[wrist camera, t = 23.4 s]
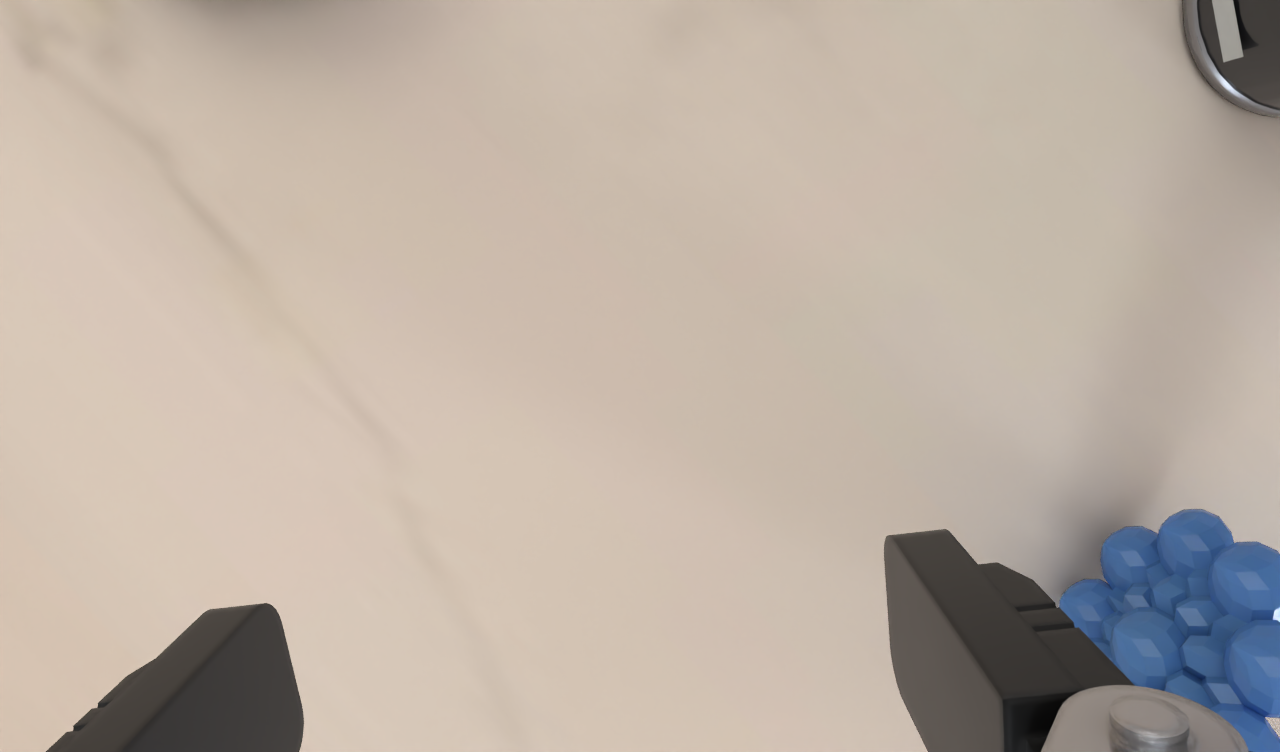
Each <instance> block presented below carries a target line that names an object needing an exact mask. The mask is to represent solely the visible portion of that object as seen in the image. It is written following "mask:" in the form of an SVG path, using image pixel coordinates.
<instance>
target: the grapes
mask: <svg viewBox="0 0 1280 752" xmlns="http://www.w3.org/2000/svg"><path fill="white" fill-rule="evenodd" d="M1100 562H1101V567H1102V572H1103V576H1104V578H1105V579H1106V581H1107V582H1108V583H1106V582H1104V581H1102V580H1100V579H1084V580H1081V581H1079V582H1077V583H1075V584H1073V585H1071V586H1070V587H1069V588H1068V589H1067V590H1066V591H1065V592H1064V593H1063V595H1062V597H1061V599H1060V603H1059V608H1060V609H1061V610H1062V611H1063V612H1064V613H1065V614H1066V615H1067V616H1068V617H1069V618H1070V619H1071V620H1072V621H1073V622H1074V626H1075V628H1078V627H1079V628H1080V629H1081V630H1082V631H1083V632H1084V633H1085V634H1086V635H1087V636H1088V638H1089V639H1090V640H1091V641H1092V642H1093V643H1094V644H1095V645H1096V646H1097V647H1098V648H1099V649H1100V650H1101V651H1102V652H1103V653H1104V654H1105V655H1106V656H1107V657H1108V658H1109V659H1110V660H1111V661H1112V662H1113V663H1114V664H1115V665H1116V666H1117V668H1118V669H1119V670H1120V671H1121V672H1122V673H1123V674H1124V675H1125V676H1126V677H1127V678H1128V679H1129V680H1130V681H1131V682H1132V683H1133V684H1134V685H1135V686H1140V687H1148V688H1153V689H1158V690H1162V691H1166V692H1170V693H1173V694H1176V695H1179V696H1182V697H1185V698H1187V699H1190V700H1192V701H1195V702H1197V703H1199V704H1201V705H1203V706H1205V707H1207V708H1209V709H1210V710H1212V711H1214V712H1215V713H1217V714H1219V715H1220V716H1221V717H1223V718H1224V719H1225V720H1226V721H1228V722H1229V723H1230V724H1231V725H1232V726H1233V727H1234V728H1235V729H1236V730H1237V731H1238V732H1239V733H1240V735H1241V736H1242V738H1243V739H1244V740H1245V742H1246V745H1247V747H1248V750H1249V751H1251V752H1280V738H1279V737H1278V735H1277V734H1276V732H1275V731H1274V730H1273V728H1272V727H1271V725H1270V724H1269V723H1268V721H1267V720H1266V718H1265V717H1272V718H1280V554H1279V552H1278V551H1277V550H1274V549H1272V548H1270V547H1268V546H1265V545H1263V544H1261V543H1259V542H1236V543H1234V542H1233V537H1232V533H1231V531H1230V530H1229V529H1228V527H1227V526H1226V525H1225V523H1224V522H1223V521H1222V520H1221V518H1220V517H1219V516H1216V515H1214V514H1212V513H1210V512H1207V511H1205V510H1203V509H1189V510H1182V511H1180V512H1178V513H1176V514H1174V515H1172V516H1170V517H1169V518H1168V519H1167V520H1166V521H1165V522H1164V523H1163V524H1162V525H1161V527H1160V529H1159V533H1158V534H1157V533H1155V532H1153V531H1151V530H1149V529H1147V528H1145V527H1143V526H1133V527H1124V528H1122V529H1120V530H1118V531H1116V532H1114V533H1112V534H1111V535H1110V536H1109V537H1108V538H1107V539H1106V540H1105V542H1104V544H1103V546H1102V549H1101V558H1100Z"/></svg>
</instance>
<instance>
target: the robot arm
mask: <svg viewBox="0 0 1280 752" xmlns="http://www.w3.org/2000/svg"><path fill="white" fill-rule="evenodd" d="M1183 21H1184V28H1185V34H1186V38H1187V42H1188V45H1189V48H1190V51H1191V54H1192V56H1193V58H1194V60H1195V62H1196V65H1197V66H1198V68H1199V70H1200V71H1201V73H1202V74H1203V76H1204V77H1205V78H1206V80H1207V81H1208V82H1209V84H1210V85H1211V86H1212V87H1213V88H1214V89H1215V90H1216V91H1217V92H1218V93H1220V94H1221V95H1222V96H1223V97H1224V98H1226V99H1227V100H1229V101H1230V102H1232V103H1233V104H1235V105H1237V106H1239V107H1241V108H1243V109H1245V110H1248V111H1250V112H1253V113H1257V114H1261V115H1265V116H1272V117H1280V0H1183ZM884 561H885V576H886V591H887V606H888V621H889V635H890V649H891V657H892V663H893V668H894V673H895V677H896V681H897V685H898V688H899V691H900V694H901V697H902V699H903V701H904V703H905V705H906V707H907V710H908V712H909V714H910V716H911V718H912V720H913V722H914V724H915V726H916V728H917V730H918V732H919V734H920V736H921V738H922V740H923V742H924V744H925V746H926V749H927V751H928V752H1251V751H1249V750H1248V747H1247V745H1246V742H1245V740H1244V739H1243V738H1242V736H1241V735H1240V733H1239V732H1238V731H1237V730H1236V729H1235V728H1234V727H1233V726H1232V725H1231V724H1230V723H1229V722H1228V721H1226V720H1225V719H1224V718H1223V717H1221V716H1220V715H1219V714H1217V713H1215V712H1214V711H1212V710H1210V709H1209V708H1207V707H1205V706H1203V705H1201V704H1199V703H1197V702H1195V701H1192V700H1190V699H1187V698H1185V697H1182V696H1179V695H1176V694H1173V693H1170V692H1166V691H1162V690H1158V689H1153V688H1148V687H1140V686H1135V685H1134V684H1133V683H1132V682H1131V681H1130V680H1129V679H1128V678H1127V677H1126V676H1125V675H1124V674H1123V673H1122V672H1121V671H1120V670H1119V669H1118V668H1117V666H1116V665H1115V664H1114V663H1113V662H1112V661H1111V660H1110V659H1109V658H1108V657H1107V656H1106V655H1105V654H1104V653H1103V652H1102V651H1101V650H1100V649H1099V648H1098V647H1097V646H1096V645H1095V644H1094V643H1093V642H1092V641H1091V640H1090V639H1089V638H1088V636H1087V635H1086V634H1085V633H1084V632H1083V631H1082V630H1081V629H1080V628H1079V627H1078V628H1075V626H1074V622H1073V621H1072V620H1071V619H1070V618H1069V617H1068V616H1067V615H1066V614H1065V613H1064V612H1063V611H1062V610H1061V609H1060V608H1056V606H1055V602H1054V601H1053V600H1052V599H1051V598H1050V597H1049V596H1048V595H1047V594H1046V593H1045V592H1044V591H1043V590H1042V589H1041V588H1040V587H1039V586H1038V585H1037V584H1036V583H1035V582H1034V581H1033V580H1032V579H1030V578H1028V577H1026V576H1024V575H1022V574H1020V573H1018V572H1016V571H1013V570H1011V569H1009V568H1007V567H1005V566H1003V565H1001V564H999V563H989V564H979V565H978V564H977V563H976V562H975V561H974V559H973V558H972V557H971V556H970V555H969V554H968V552H967V551H966V550H965V549H964V548H963V547H962V546H961V544H960V543H959V542H958V541H957V540H956V539H955V537H954V536H953V535H952V534H951V533H950V532H949V531H948V530H946V529H943V530H934V531H925V532H916V533H907V534H898V535H889V536H887V537H886V539H885V544H884ZM73 727H74V729H73V731H71V732H66V733H65V734H64V735H63V736H62V737H61V738H60V739H59V740H58V741H57V742H56V743H55V744H54V745H53V746H51V747H50V748H49V749H48V750H47V751H46V752H299V750H300V747H301V742H302V737H303V727H304V718H303V709H302V704H301V700H300V696H299V692H298V688H297V683H296V679H295V675H294V671H293V667H292V663H291V659H290V655H289V650H288V646H287V642H286V638H285V634H284V630H283V626H282V622H281V619H280V616H279V614H278V612H277V611H276V609H275V608H274V607H273V606H272V605H270V604H267V603H264V604H255V605H246V606H237V607H228V608H219V609H210V610H208V611H206V612H205V613H203V614H202V615H201V616H200V617H199V618H198V619H197V620H196V621H195V622H194V623H193V624H192V625H191V626H190V627H188V628H187V629H186V630H185V631H184V632H183V633H182V634H181V635H180V636H179V637H178V638H177V639H176V640H175V641H174V642H173V643H172V644H171V645H170V646H168V647H167V648H166V649H165V650H164V651H163V652H162V653H161V654H160V655H159V656H158V657H157V658H156V659H154V660H153V661H151V662H149V663H148V664H146V665H144V666H143V667H141V668H139V669H138V670H136V671H135V672H133V673H131V674H130V675H128V676H127V677H125V678H124V679H123V680H122V681H121V682H120V683H119V684H118V685H117V686H116V687H115V688H114V689H113V690H112V691H110V692H109V693H108V694H107V695H106V696H105V697H104V698H103V699H102V700H101V701H100V702H99V703H98V708H94V709H91V710H90V711H89V712H88V713H87V714H86V715H85V716H84V717H83V718H81V719H80V720H79V721H78V722H77V723H76V724H75V725H74V726H73Z"/></svg>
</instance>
